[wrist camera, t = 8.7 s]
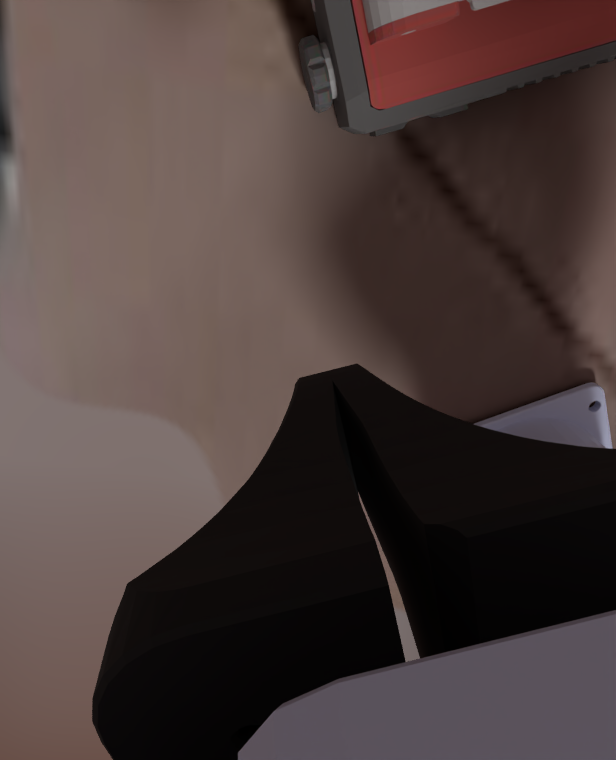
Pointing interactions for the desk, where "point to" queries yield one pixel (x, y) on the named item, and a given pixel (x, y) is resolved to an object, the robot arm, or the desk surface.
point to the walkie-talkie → (443, 54)
